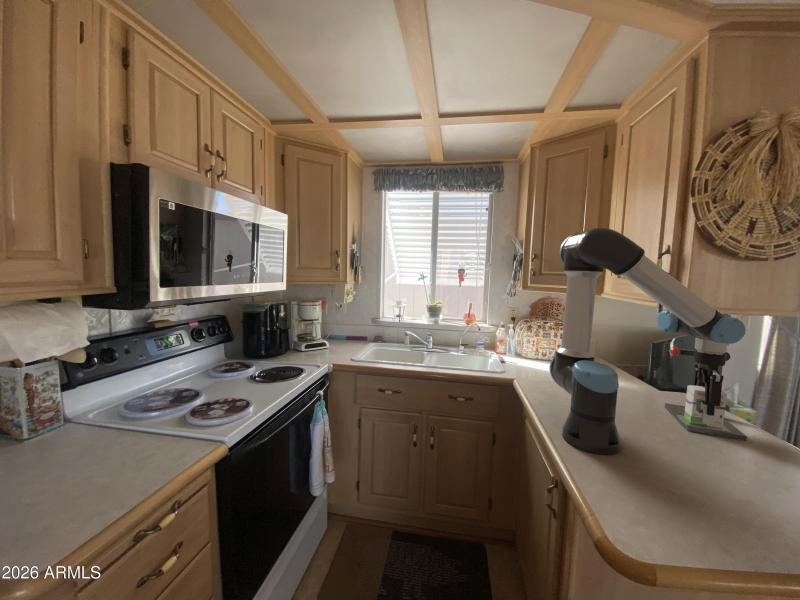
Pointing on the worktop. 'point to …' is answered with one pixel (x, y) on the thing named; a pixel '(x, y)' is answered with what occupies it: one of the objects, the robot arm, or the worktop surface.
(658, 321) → the robot arm
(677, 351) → the lever
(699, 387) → the ink box
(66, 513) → the worktop surface
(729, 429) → the press
